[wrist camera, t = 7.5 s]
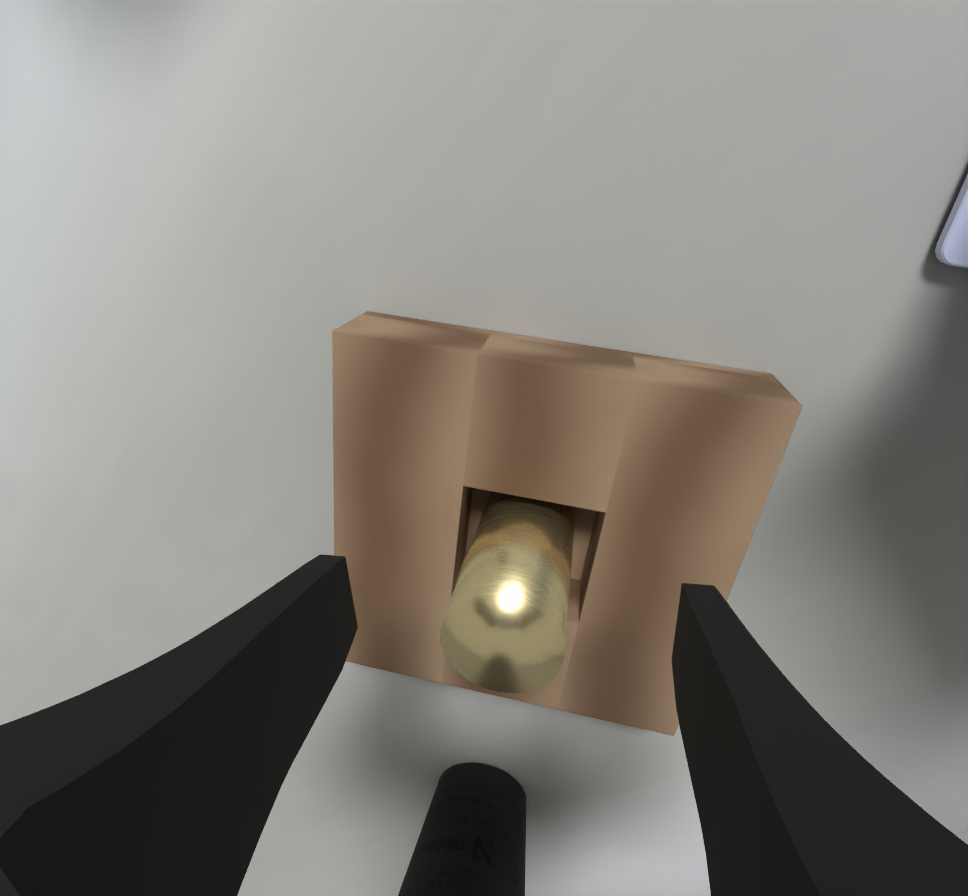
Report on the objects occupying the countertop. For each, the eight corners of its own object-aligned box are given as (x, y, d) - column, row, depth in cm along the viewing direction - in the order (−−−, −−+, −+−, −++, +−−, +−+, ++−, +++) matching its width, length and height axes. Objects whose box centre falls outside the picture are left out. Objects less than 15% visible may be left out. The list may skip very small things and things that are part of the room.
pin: (563, 467, 21) (547, 589, 14) (584, 546, 22) (576, 689, 16) (474, 482, 22) (423, 602, 15) (499, 557, 23) (460, 695, 17)
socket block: (772, 374, 18) (802, 406, 16) (665, 676, 25) (674, 735, 22) (367, 311, 20) (332, 330, 17) (361, 610, 26) (335, 658, 24)
